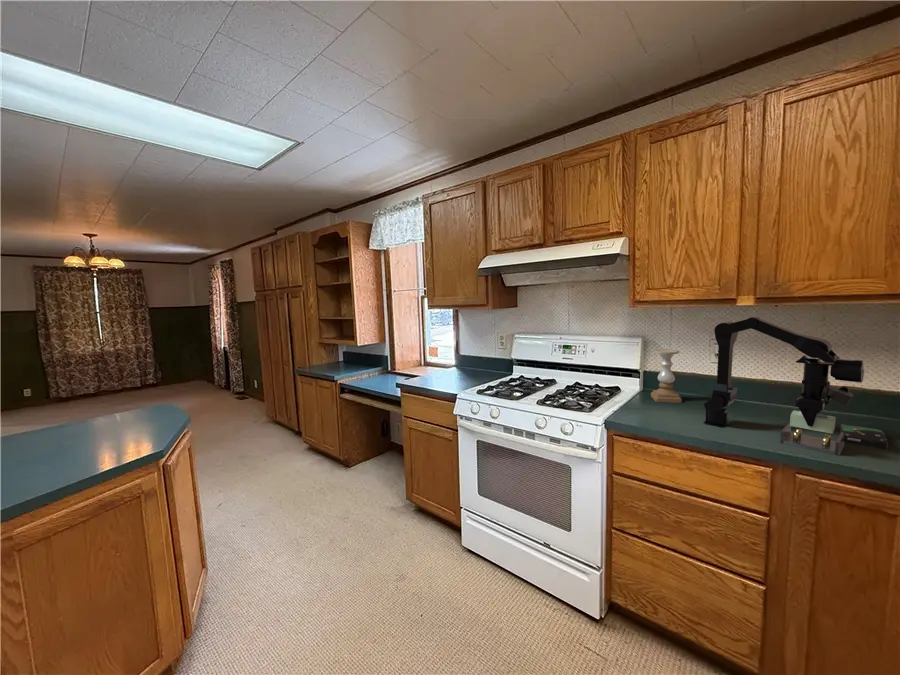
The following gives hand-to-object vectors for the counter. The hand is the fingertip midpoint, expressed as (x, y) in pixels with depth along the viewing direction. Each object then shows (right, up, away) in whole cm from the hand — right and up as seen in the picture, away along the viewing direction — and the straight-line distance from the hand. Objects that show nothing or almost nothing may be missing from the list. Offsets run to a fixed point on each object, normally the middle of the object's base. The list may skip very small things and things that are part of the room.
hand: (812, 423), depth 121 cm
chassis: (0, -7, +1) cm, 7 cm away
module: (0, -1, 0) cm, 1 cm away
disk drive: (+20, -6, +4) cm, 22 cm away
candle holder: (-15, -2, +57) cm, 59 cm away
